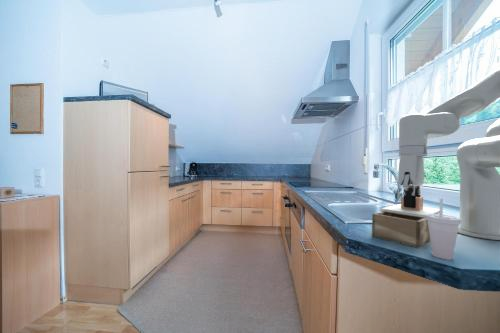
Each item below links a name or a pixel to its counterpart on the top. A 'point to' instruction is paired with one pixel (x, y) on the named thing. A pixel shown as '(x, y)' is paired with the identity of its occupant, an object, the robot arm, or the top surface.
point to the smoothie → (443, 233)
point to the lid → (411, 209)
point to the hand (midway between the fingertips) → (411, 206)
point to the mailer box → (401, 228)
